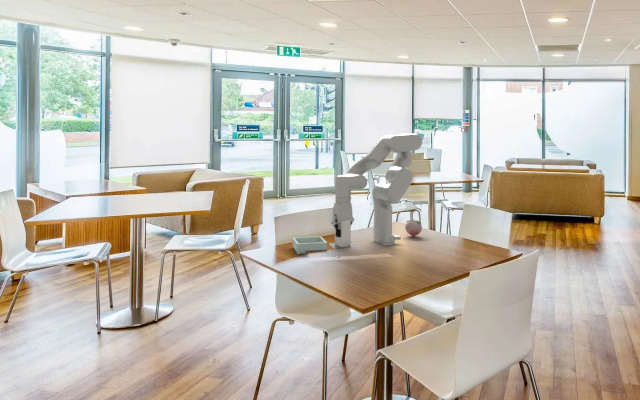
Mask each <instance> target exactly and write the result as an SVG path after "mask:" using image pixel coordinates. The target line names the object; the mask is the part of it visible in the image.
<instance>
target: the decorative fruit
mask: <svg viewBox="0 0 640 400" xmlns="http://www.w3.org/2000/svg"><path fill="white" fill-rule="evenodd" d="M422 226H423V225H422V222H421V221H420V220H414V219H413V220H411V219H408V220H406V223H405V226H404V227H405V232H407V234H409V235H410V236H412V237H416V236H418V235H419V234H420V233H421V232H422V230H423V227H422Z"/></svg>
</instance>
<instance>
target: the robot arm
mask: <svg viewBox="0 0 640 400" xmlns="http://www.w3.org/2000/svg"><path fill="white" fill-rule="evenodd" d="M422 145H423V139H422V136H420V135H419V134H418V133H400V134H396V135H395V134H385V135H383V136H381V137H380V138H379V139H378V141H377V142H376V143H375V144H374V146H373V147H372V148H371V150H370V151H369V152H368V153H367V154H366V155H365V156H364V157H363V158H361V159H360V160H358V161H357V162H355V163H354V164H353V165H352V166H351V167H350V168H349V170H348V171H347V172H346V174H339V175H336V176H335V202H334V203H333V208H332V215H331V216H332V217H331V218H332V220H331V222H330V223H331V226H333V227H334V230H335V229H336V237H341V229H340V226H341V223H342V221H345V220H351V226H352V224H353V223H354V221H355V218H354V216H353V205H352V201H351V200H352V197H351V191H352V190H357V191H358V190H359V191H361V190H363V189H365V188H366V187H367V185H368V179H367V178H366V176H364V174H366V173H367V172H369V171H371V170H374V169H377V168H378V167H380V166H381V165H382V163H383V162H384V161H385V160H386V159H387V157H388V156H389V155H390V154H391V153H396V156H395V158H394V159H393V162H392V163H391V164H390V166H389V167H388V170H387V171H386V173H385V176H384V178H385V179H384V180H385V182H387V183H385V182H380V183H377V184H376V185H374V187H373V189H372V192H371V193H372V200H373V237H372V238H373V242H374V243H379V244H380V245H381V246H384V247H387V246H388V247H389V246H394V245H395V244H396V243H395V241H396V240H397V241H398V240H401V239H402V237H401V235H394V234H392V233H393V206H392V204H393V205H394V204H397V203H399V202H400V201H401V200H402V199H403V197H404V195H405V194H406V192H407V190H408V189H409V188H410V186H411V184H412V182H413V177H414V175H413V171H412V170H411V169H410V166H411V164H412V161H413V154H412V152H414V151H418V150H419V149H420V148H421V147H422ZM337 221H338V222H337Z"/></svg>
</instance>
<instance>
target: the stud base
mask: <svg viewBox="0 0 640 400" xmlns="http://www.w3.org/2000/svg"><path fill="white" fill-rule="evenodd" d="M328 245H330V246H331V248H332V249H334V250H336V249H354V248H355V249H356V248H357V249H358V246H356V244H354V243H353V242H352V241H351V245H350V246H345V247H340V246H336V245H335V242H330V243H329V242H328Z"/></svg>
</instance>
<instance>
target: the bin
mask: <svg viewBox="0 0 640 400" xmlns="http://www.w3.org/2000/svg"><path fill="white" fill-rule="evenodd" d="M292 248H294V249H293V250H294V251H295V252H296V254H297V255H302V254H303V255H305V254H306V255H307V254H309V253H308V251H310V252H311V251H325V250H328V242H327V241H326V240H325V239H324V238H323V237H322V235H321V236H320V235H319V236H318V235H317V236H301V237H299V236H298V237H296V236H295V237H292Z"/></svg>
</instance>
